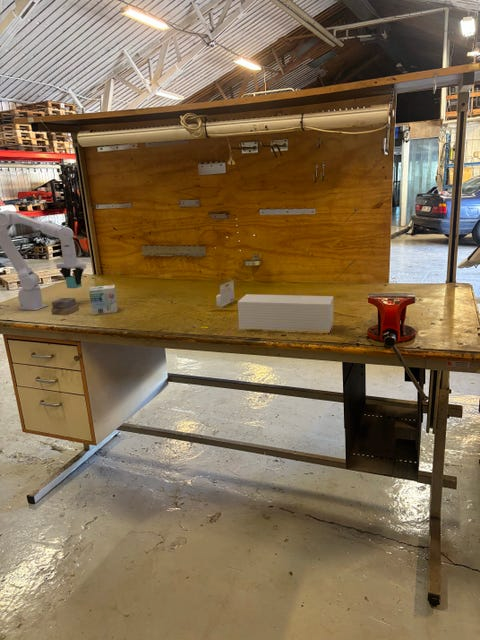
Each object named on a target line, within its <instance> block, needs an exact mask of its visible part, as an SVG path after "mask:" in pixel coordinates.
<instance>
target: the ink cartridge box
mask: <svg viewBox="0 0 480 640" xmlns="http://www.w3.org/2000/svg"><path fill="white" fill-rule="evenodd" d="M234 283H235V281H234V279H232V280H230V281H228V282H225V283H222V284H220V285H219V294H217V295H216V296H215V297H216V307H217V308H223V307H226V306H228V305H229V303H230V304H232V303H234V302H235V300H236V299H235V290H234V289H235V288H234V287H235V286H234ZM233 301H234V302H233ZM231 302H232V303H231ZM227 304H228V305H227ZM222 306H223V307H222Z"/></svg>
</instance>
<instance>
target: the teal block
mask: <svg viewBox="0 0 480 640" xmlns="http://www.w3.org/2000/svg"><path fill="white" fill-rule="evenodd" d="M65 283H66V288H67V289H78V288H81V287H82V286H83V285H82V282H81V284H79V285H77V283H76V279H75V275H74V274H73V275H71V276H69V277H66V280H65Z"/></svg>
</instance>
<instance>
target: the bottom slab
mask: <svg viewBox="0 0 480 640" xmlns="http://www.w3.org/2000/svg"><path fill="white" fill-rule="evenodd" d="M50 310H51V315H53V316H55V315H57V316H69V315H71V314H73V313H75V312H78V311H80V308H79V304H76V305H74V306H72V307H70V308H68V309H53V307H52V308H51V309H50Z"/></svg>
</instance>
